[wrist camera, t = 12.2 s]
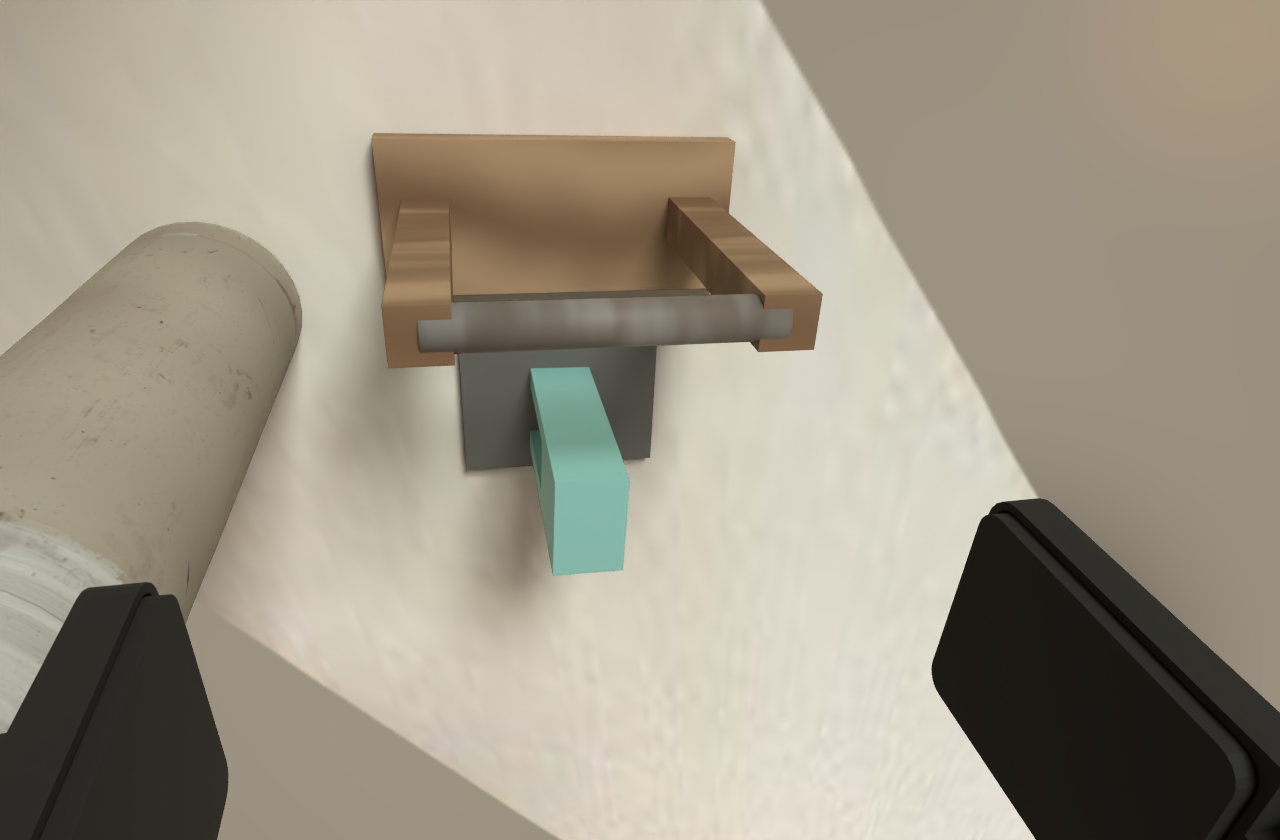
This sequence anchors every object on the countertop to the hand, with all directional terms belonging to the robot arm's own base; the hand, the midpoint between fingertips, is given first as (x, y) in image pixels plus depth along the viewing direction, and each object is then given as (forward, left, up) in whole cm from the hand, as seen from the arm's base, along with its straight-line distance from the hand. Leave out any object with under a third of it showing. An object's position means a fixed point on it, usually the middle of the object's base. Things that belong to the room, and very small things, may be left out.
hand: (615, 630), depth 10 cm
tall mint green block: (+13, +3, -31) cm, 33 cm away
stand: (+3, +3, -31) cm, 32 cm away
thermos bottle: (+7, -13, -32) cm, 35 cm away
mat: (+13, +3, -31) cm, 34 cm away
